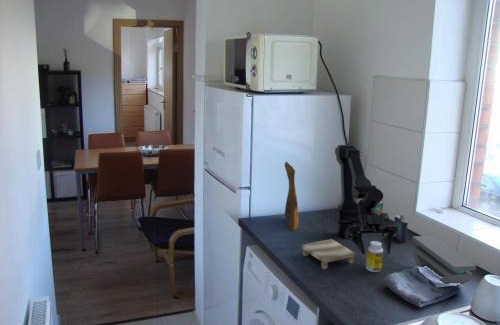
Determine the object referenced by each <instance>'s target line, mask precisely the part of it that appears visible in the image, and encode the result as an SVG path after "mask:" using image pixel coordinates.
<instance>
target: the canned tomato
mask: <svg viewBox="0 0 500 325" xmlns="http://www.w3.org/2000/svg"><path fill="white" fill-rule="evenodd" d="M383 208H384V200H383V199H382V200H381V202H380V203H379V204H378V205H377V207H375V213H377V214H378V215H381V213H383V211H384V209H383Z"/></svg>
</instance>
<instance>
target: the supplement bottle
mask: <svg viewBox="0 0 500 325" xmlns="http://www.w3.org/2000/svg"><path fill="white" fill-rule="evenodd" d="M382 247H383V246H382V242H380V241H377V240H372V241H370V243H369V246H368V247H367V248H366V249H367V250H366V257H365V258H366V260H365V269H366V270H367V271H369V272H372V273H378V272H379V273H380V272H381V271H382V266H383V256H384V249H383V248H382Z"/></svg>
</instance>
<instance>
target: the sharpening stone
mask: <svg viewBox="0 0 500 325" xmlns="http://www.w3.org/2000/svg"><path fill="white" fill-rule="evenodd" d="M411 241H412V242H413V243H415V244H416V245H413V247H412V255H413V258H414V261H415V264H416V267H417V266H419V267H424V266H427V267H428V268H430V269H431V270H433V271H434V272H435V273H436V274H438V275H439V276H441V277H443V278H441V279H440V281H442V282H443V283H444V284H449V283H460V284H461V285H460V286H463V285H464V284H466V283H469V282H470V281H472V280H473V279H472V278H473V273H472V272H471V271H476V269H477V265H476V264H474V263H473V262H471V261H470V260H469V259H467V258H466V257H464V256H462V255H461V254H460V253H458V252H457V251H455V250H453V249H452V248H451V247H449V246H448V245H447V244H445V243H443V242H442V241H440V239H437V238H436V237H434V236H433V235H421V236H419V235H417V236H412V238H411Z"/></svg>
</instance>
